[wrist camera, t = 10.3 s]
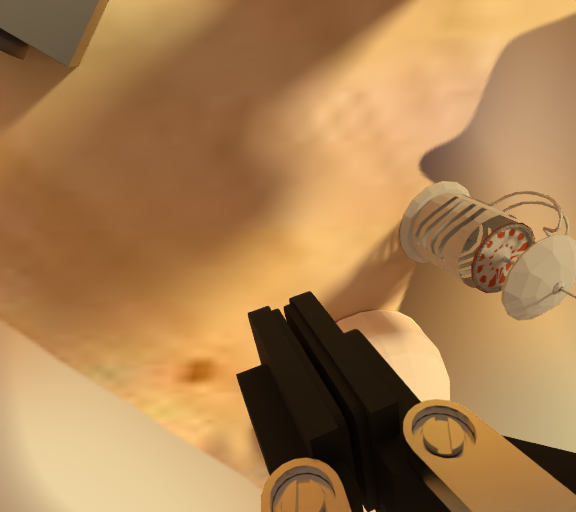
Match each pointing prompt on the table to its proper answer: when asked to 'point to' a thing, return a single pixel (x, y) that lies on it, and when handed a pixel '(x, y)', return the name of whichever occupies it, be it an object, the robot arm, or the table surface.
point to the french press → (491, 248)
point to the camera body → (49, 27)
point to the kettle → (404, 351)
